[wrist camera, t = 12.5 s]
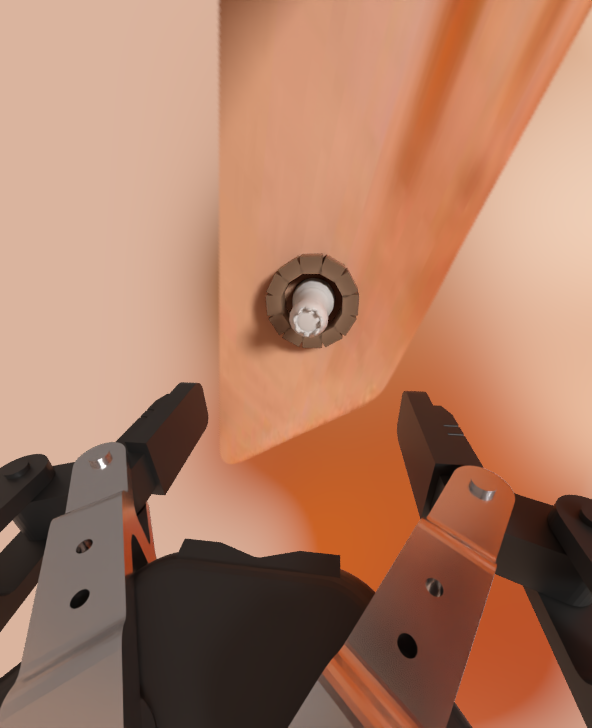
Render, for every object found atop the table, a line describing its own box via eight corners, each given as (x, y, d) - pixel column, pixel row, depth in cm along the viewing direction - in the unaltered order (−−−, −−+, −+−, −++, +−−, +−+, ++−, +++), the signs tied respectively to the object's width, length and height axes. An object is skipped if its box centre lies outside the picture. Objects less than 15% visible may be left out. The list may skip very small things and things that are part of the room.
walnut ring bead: (268, 255, 28) (262, 258, 26) (359, 252, 27) (361, 255, 25) (274, 338, 33) (270, 347, 30) (354, 339, 31) (355, 348, 29)
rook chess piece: (305, 325, 31) (297, 356, 24) (285, 289, 30) (270, 311, 23) (342, 307, 30) (344, 334, 23) (323, 268, 28) (319, 284, 21)
